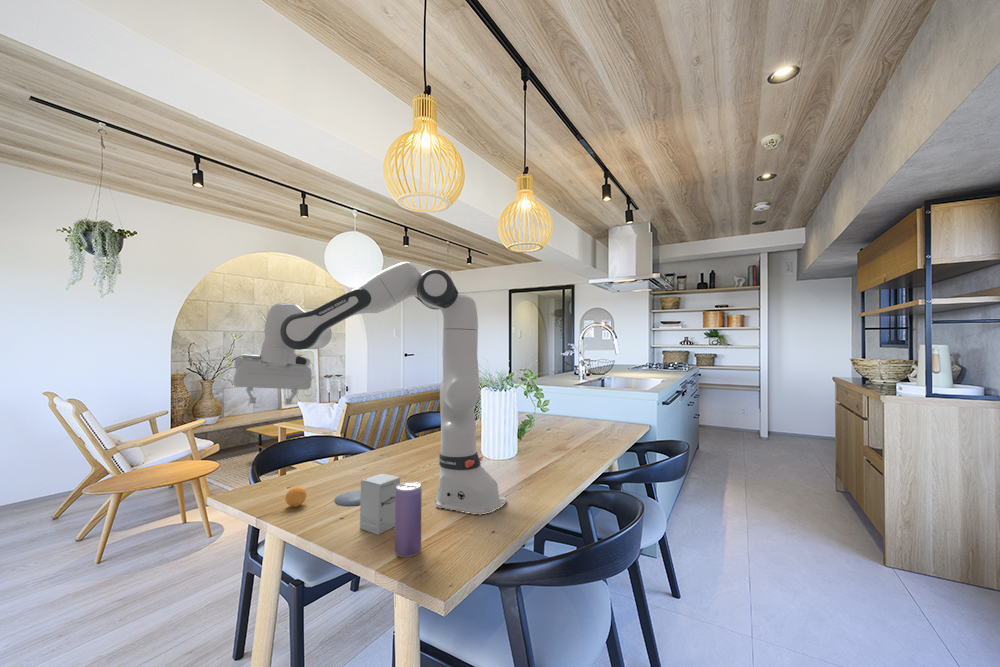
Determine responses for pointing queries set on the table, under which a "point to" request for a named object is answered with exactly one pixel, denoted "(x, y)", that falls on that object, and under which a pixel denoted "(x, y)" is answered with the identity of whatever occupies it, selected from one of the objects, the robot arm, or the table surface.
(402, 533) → the beverage can
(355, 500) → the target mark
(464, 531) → the table surface
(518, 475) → the table surface
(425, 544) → the table surface
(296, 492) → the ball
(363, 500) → the supplement box
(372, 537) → the table surface
